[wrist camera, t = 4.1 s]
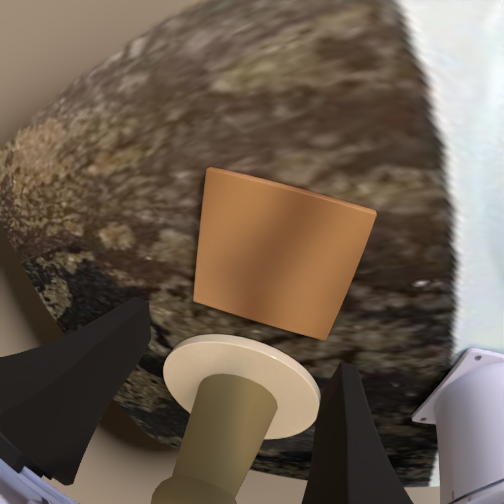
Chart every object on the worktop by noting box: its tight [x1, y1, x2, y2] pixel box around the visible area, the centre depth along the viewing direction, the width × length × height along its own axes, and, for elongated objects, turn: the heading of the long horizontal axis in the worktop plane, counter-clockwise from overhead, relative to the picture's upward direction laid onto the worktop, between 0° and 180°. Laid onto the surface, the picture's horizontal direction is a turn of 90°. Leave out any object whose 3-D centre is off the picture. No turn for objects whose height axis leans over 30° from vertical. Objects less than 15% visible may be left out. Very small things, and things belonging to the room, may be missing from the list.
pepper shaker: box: [151, 374, 278, 504], centre depth 17 cm, size 6×6×11 cm
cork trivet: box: [193, 167, 377, 341], centre depth 16 cm, size 8×8×1 cm
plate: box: [163, 334, 320, 439], centre depth 22 cm, size 12×12×1 cm
